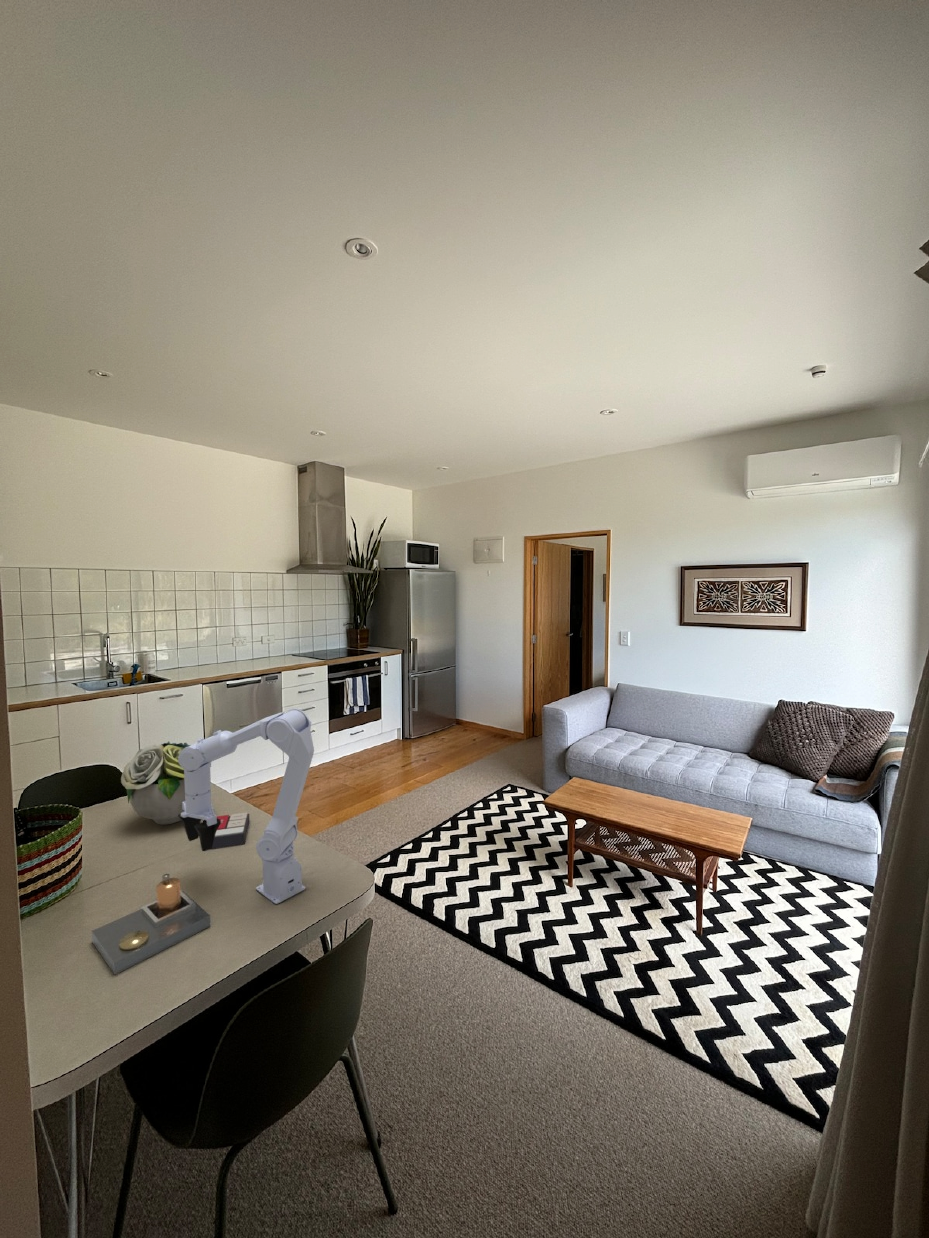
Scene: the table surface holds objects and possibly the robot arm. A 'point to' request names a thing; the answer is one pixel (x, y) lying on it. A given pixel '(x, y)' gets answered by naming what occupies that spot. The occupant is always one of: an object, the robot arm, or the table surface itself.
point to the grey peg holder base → (147, 933)
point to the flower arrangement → (156, 782)
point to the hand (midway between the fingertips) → (200, 844)
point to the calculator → (231, 831)
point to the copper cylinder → (168, 895)
